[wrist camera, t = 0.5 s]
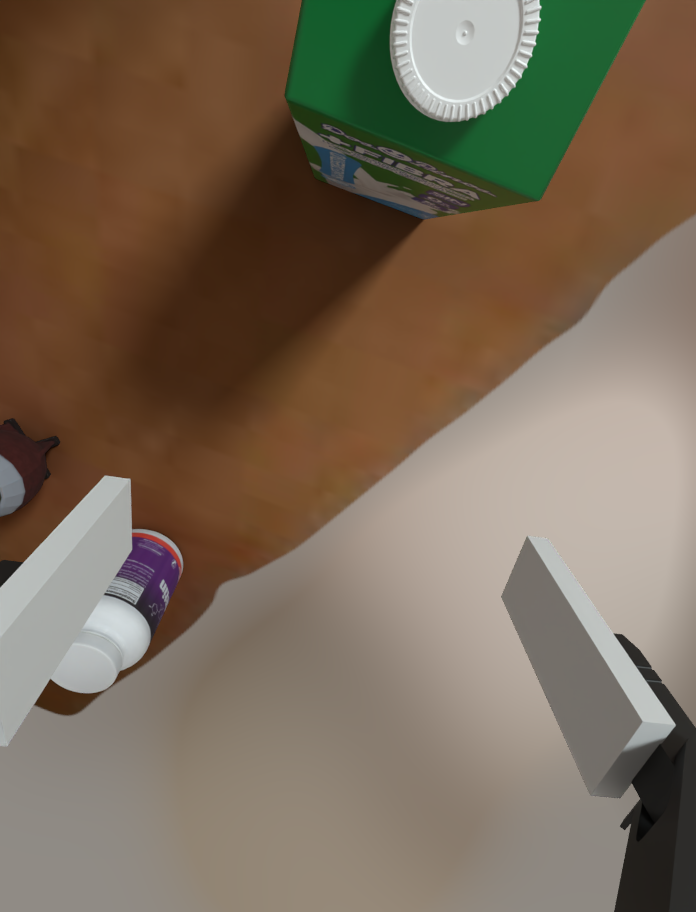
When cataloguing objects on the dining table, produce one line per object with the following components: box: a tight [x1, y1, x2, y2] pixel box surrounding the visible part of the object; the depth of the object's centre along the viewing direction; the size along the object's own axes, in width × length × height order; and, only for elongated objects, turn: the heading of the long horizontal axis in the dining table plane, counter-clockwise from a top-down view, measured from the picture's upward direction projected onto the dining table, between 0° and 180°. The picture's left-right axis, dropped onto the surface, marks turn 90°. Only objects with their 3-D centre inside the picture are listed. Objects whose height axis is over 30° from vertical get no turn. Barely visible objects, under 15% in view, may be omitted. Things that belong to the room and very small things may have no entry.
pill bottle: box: [51, 529, 183, 693], centre depth 43 cm, size 8×8×14 cm
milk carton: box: [285, 0, 646, 219], centre depth 22 cm, size 9×9×25 cm
